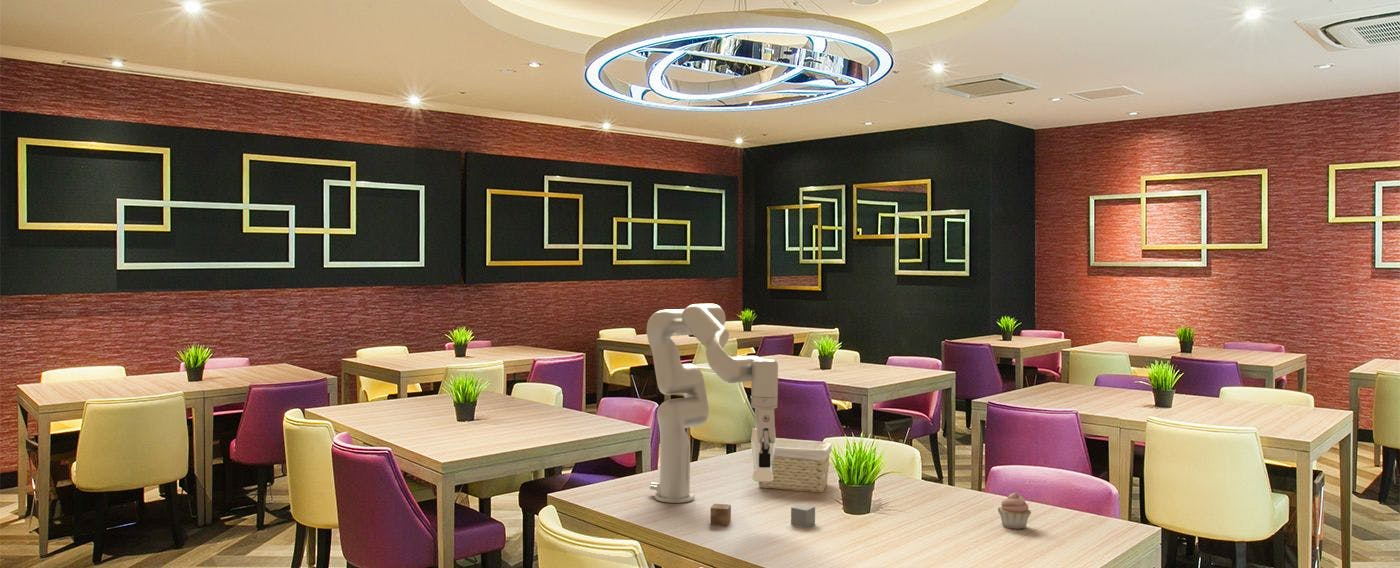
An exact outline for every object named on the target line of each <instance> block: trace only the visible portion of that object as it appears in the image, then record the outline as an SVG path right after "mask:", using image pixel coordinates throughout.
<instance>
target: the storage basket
mask: <svg viewBox="0 0 1400 568" xmlns="http://www.w3.org/2000/svg"><path fill="white" fill-rule="evenodd" d="M832 445H833V444H832V442H827V441H826V442H825V441H818V440H806V439H805V440H804V439H794V438H793V439H791V438H781V437H780V438H779V437H776V446H775V453H774V458H773V464H772V473H773V481H769V482H759V481H758V487H760V488H763V489H764V488H765V489H776V490H789V491H795V492H809V493H823V492H824V491H825V489H826V487H827V484H828V477H829V476H828V473H829V467H830V455H831V451H832Z"/></svg>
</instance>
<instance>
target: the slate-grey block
mask: <svg viewBox="0 0 1400 568" xmlns="http://www.w3.org/2000/svg"><path fill="white" fill-rule="evenodd" d="M790 509H791V510H790V525H792V526H795V527H801V528H805V529H806V528H809V527H811V526H814V525H815V524H816V506H813V505H807V504H801V503H799V504H797V505H794V506H791V508H790Z"/></svg>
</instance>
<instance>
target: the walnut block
mask: <svg viewBox="0 0 1400 568" xmlns="http://www.w3.org/2000/svg"><path fill="white" fill-rule="evenodd" d="M709 511H710V516H709V517H710V519H709V521H710V523H709V524H710V526H716V527H717V526H718V527H719V526H720V527H728V526H729V525H730V524H731V522H732V519H731V518H732V504H724V503H713V504H712V505H711V507H710V510H709Z"/></svg>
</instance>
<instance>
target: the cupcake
mask: <svg viewBox="0 0 1400 568" xmlns="http://www.w3.org/2000/svg"><path fill="white" fill-rule="evenodd" d="M1029 508H1030V507H1029V505H1028V503H1027V502H1026V501H1025V499H1024V498H1023V497H1022V496H1021V495H1020V494H1018V493H1017V492H1013V493H1010V494H1009V495H1008V496H1007V498H1004V499H1002V500H1001V506H999V507H997V512H998V515H1000V520H1001V525H1002V527H1004V526H1005V527H1004V528H1006V527H1008V528H1007V529H1010V528H1015V529H1014V530H1021V529H1020V528H1024V529H1025V528H1026V527H1027V523H1028V520H1029V518H1030V516H1031V515H1032V510H1030V509H1029Z"/></svg>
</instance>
